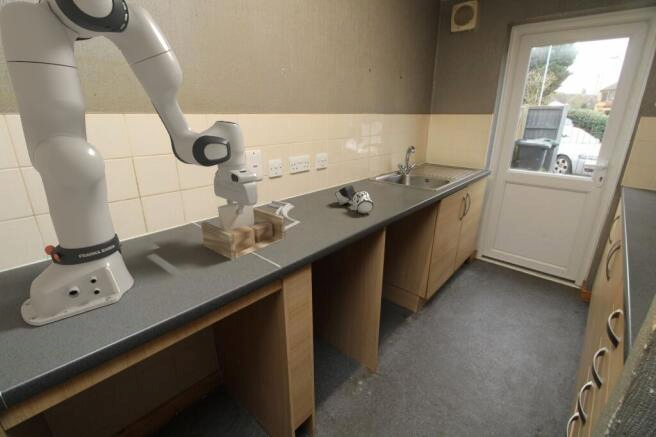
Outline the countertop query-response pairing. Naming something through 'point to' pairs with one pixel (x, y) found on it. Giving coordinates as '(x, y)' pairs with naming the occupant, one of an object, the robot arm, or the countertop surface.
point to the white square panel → (235, 216)
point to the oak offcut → (243, 238)
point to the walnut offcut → (262, 231)
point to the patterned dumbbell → (355, 199)
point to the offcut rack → (225, 240)
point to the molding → (283, 211)
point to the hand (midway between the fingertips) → (236, 212)
